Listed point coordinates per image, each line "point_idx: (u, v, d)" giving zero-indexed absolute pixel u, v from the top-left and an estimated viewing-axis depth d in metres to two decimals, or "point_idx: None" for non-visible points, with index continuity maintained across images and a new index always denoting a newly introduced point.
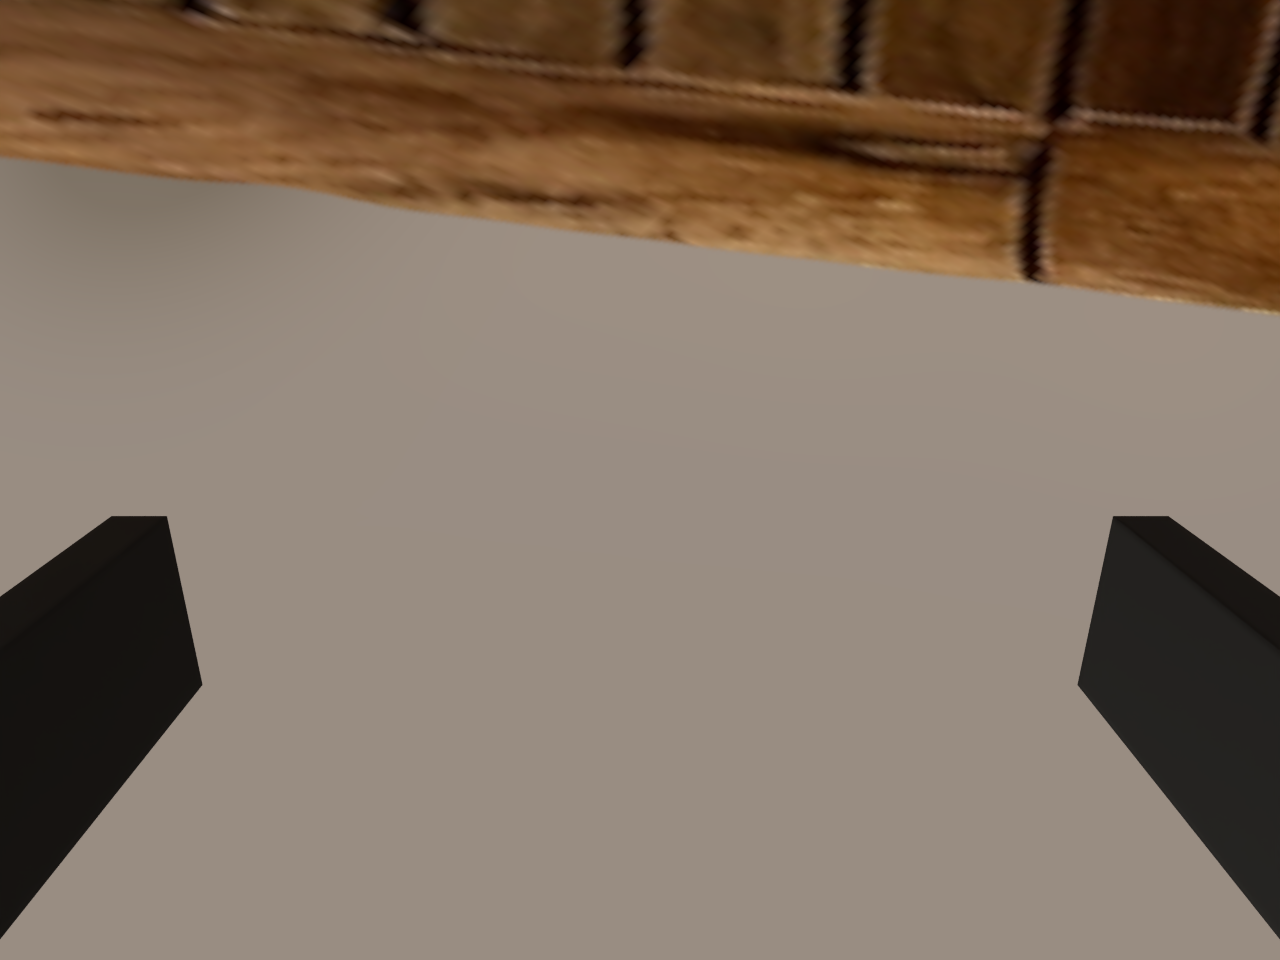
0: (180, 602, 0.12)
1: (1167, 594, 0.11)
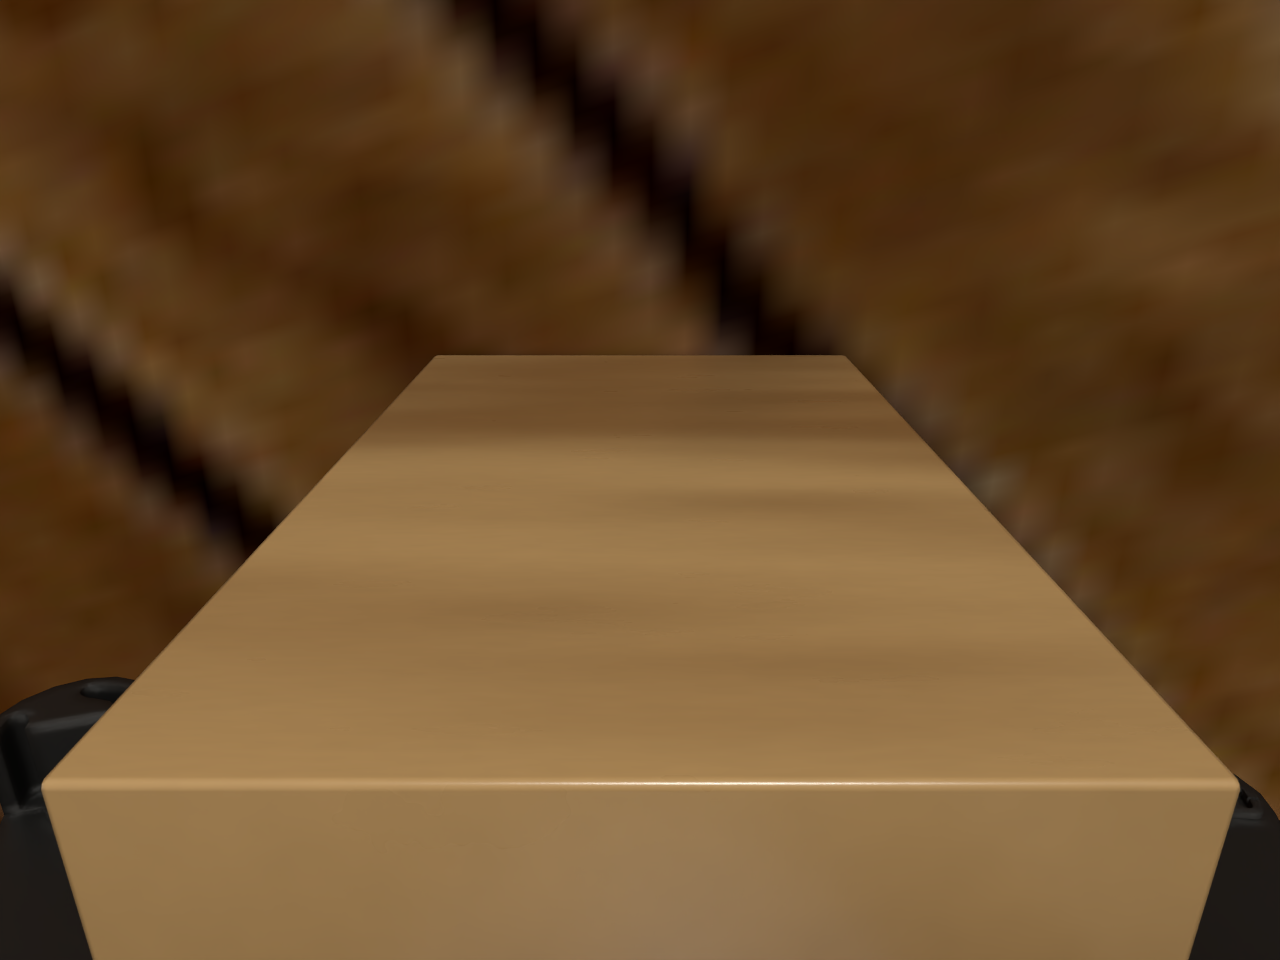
0: None
1: None
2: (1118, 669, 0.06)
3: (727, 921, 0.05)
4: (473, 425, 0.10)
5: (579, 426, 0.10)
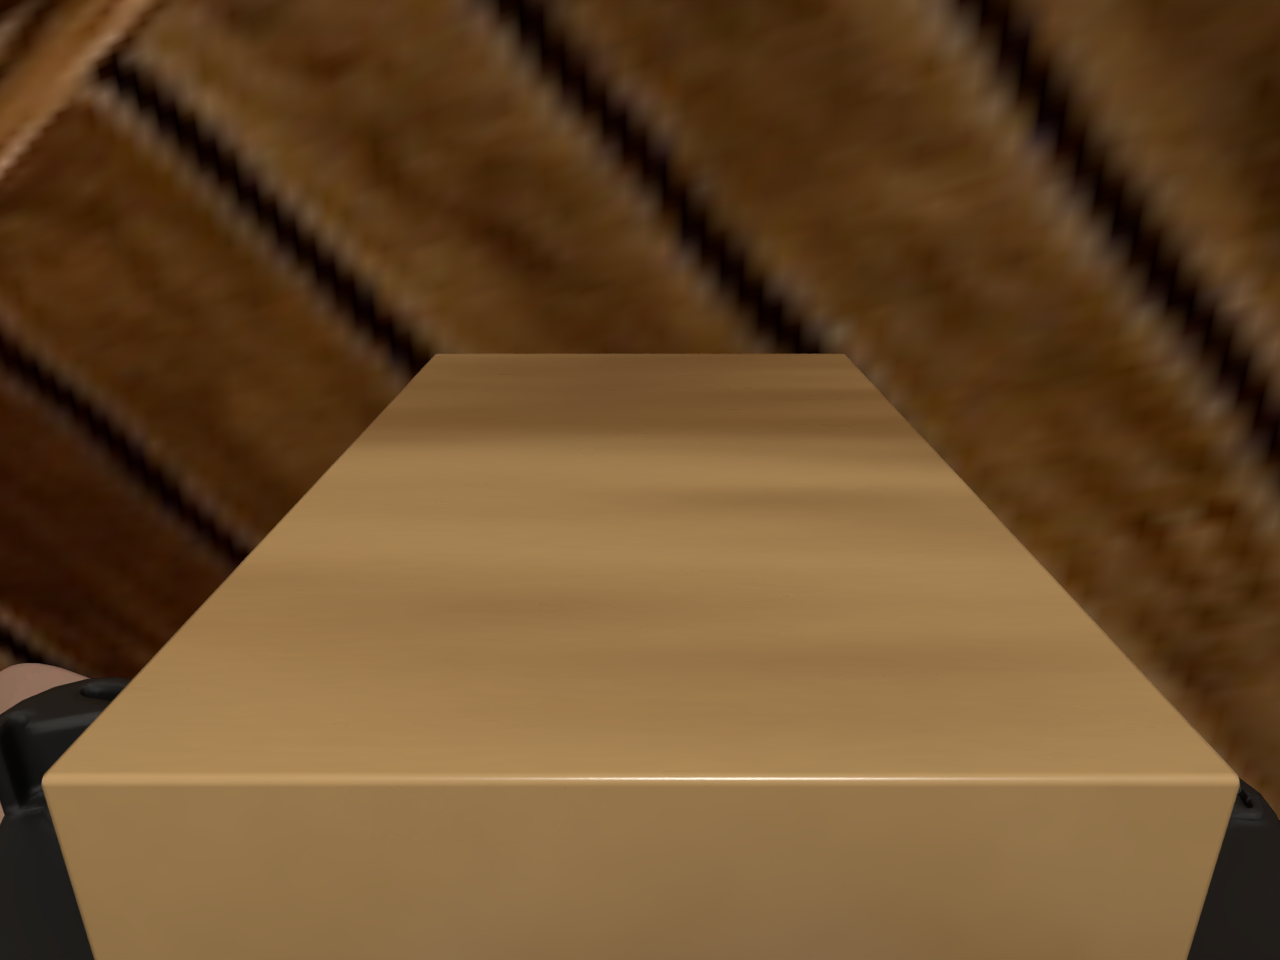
0: None
1: None
2: (1116, 665, 0.06)
3: (726, 918, 0.05)
4: (472, 423, 0.10)
5: (579, 424, 0.10)
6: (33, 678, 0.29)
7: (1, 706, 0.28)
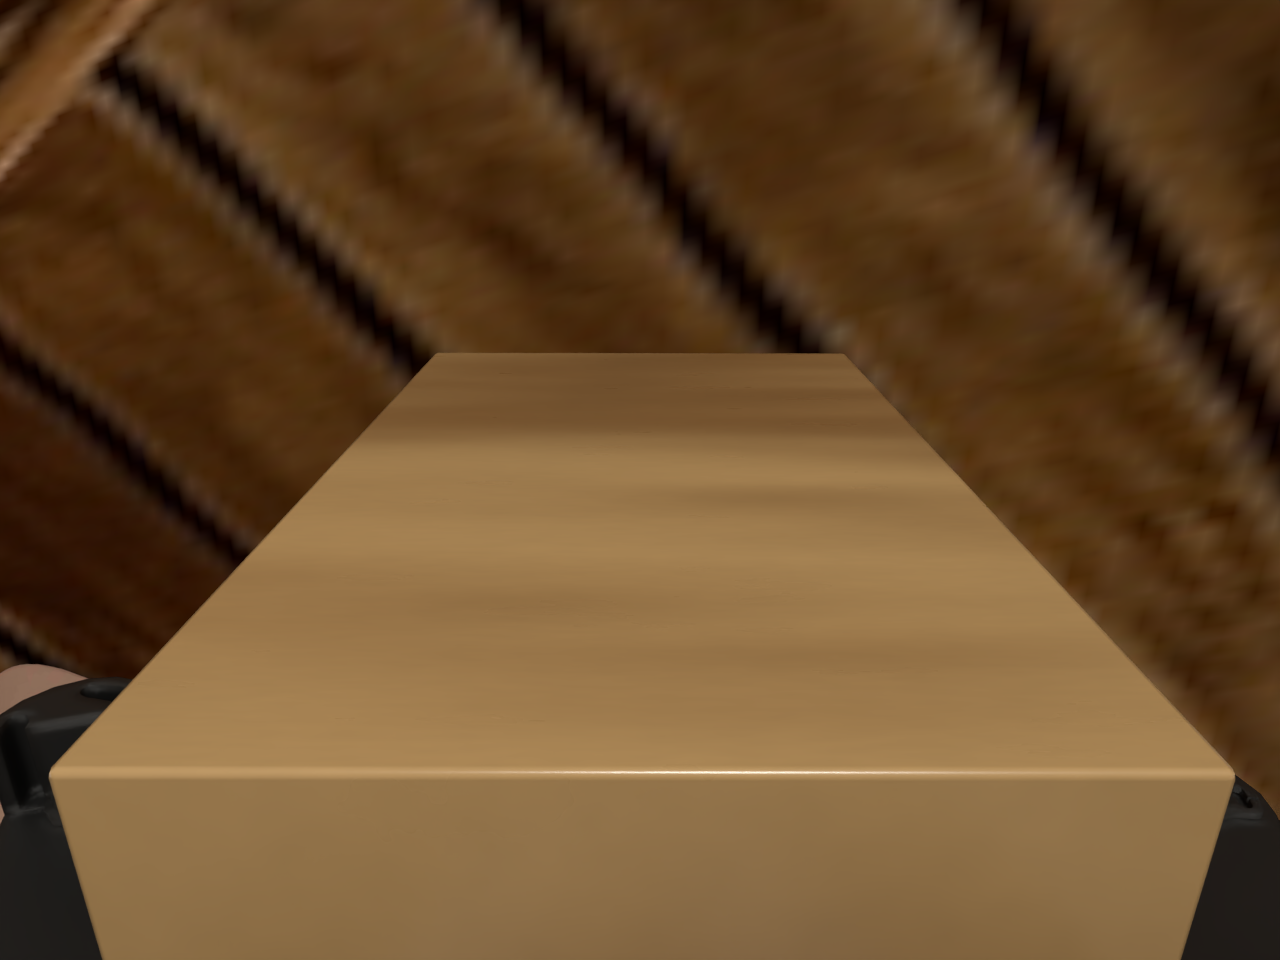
0: None
1: None
2: (1115, 663, 0.06)
3: (727, 910, 0.05)
4: (474, 422, 0.10)
5: (579, 422, 0.10)
6: (34, 679, 0.29)
7: (2, 707, 0.29)
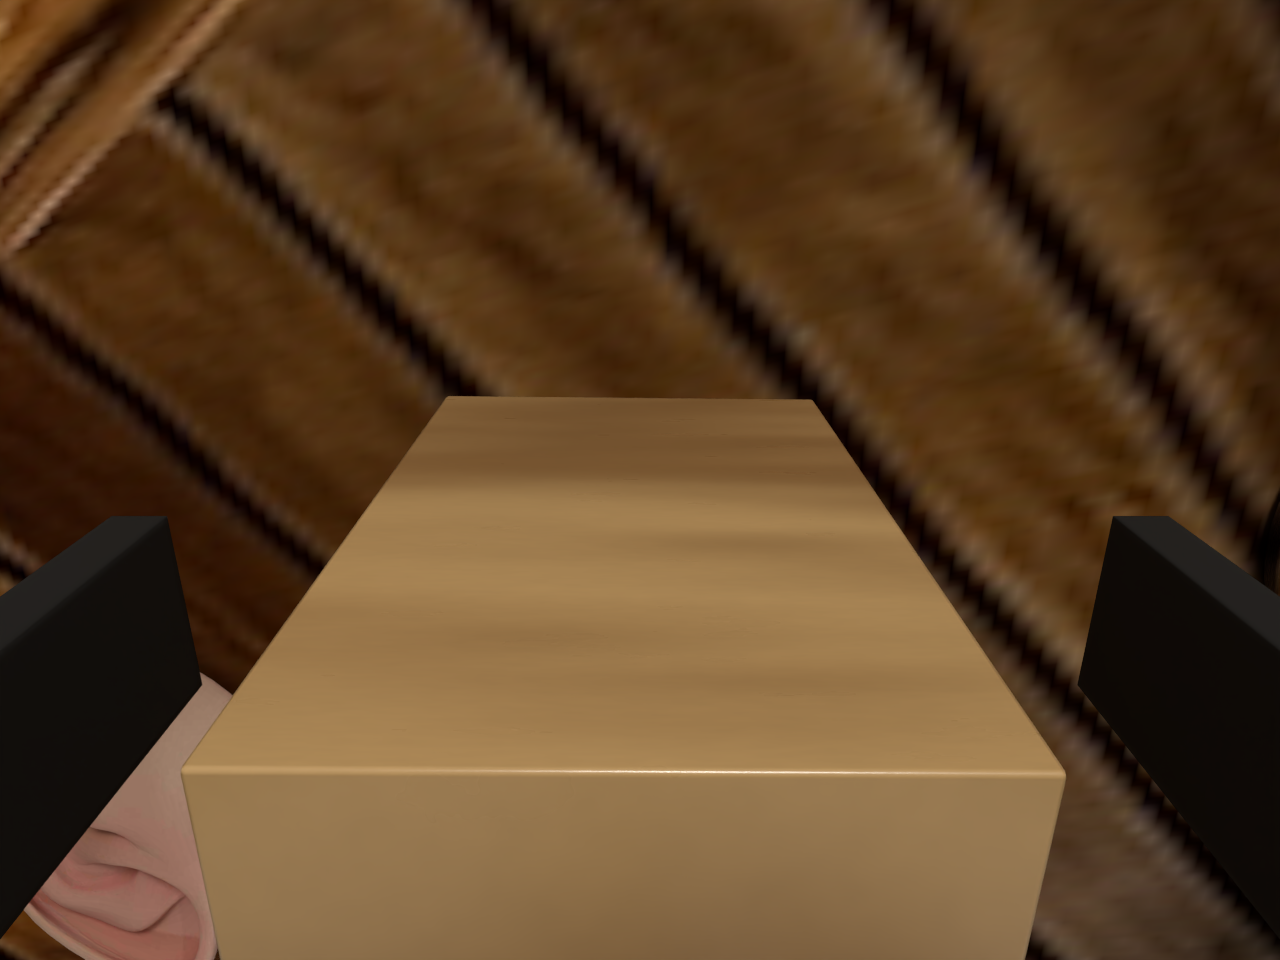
0: (180, 602, 0.12)
1: (1168, 593, 0.11)
2: (994, 687, 0.07)
3: (689, 878, 0.07)
4: (485, 468, 0.12)
5: (576, 470, 0.12)
6: None
7: None
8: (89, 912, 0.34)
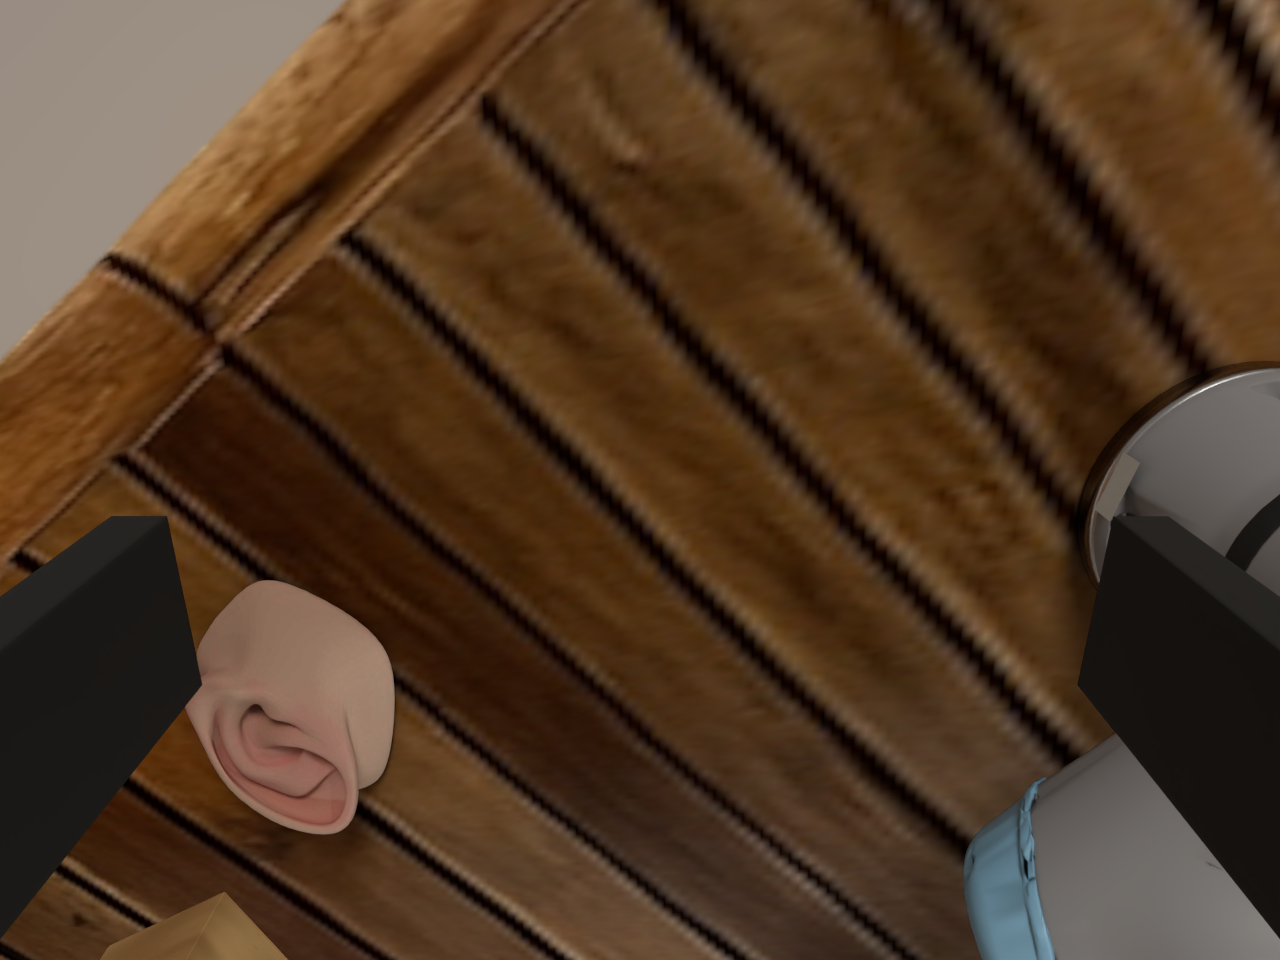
0: (180, 602, 0.12)
1: (1168, 594, 0.11)
2: None
3: None
4: None
5: None
6: (271, 589, 0.47)
7: (252, 606, 0.47)
8: (267, 782, 0.49)
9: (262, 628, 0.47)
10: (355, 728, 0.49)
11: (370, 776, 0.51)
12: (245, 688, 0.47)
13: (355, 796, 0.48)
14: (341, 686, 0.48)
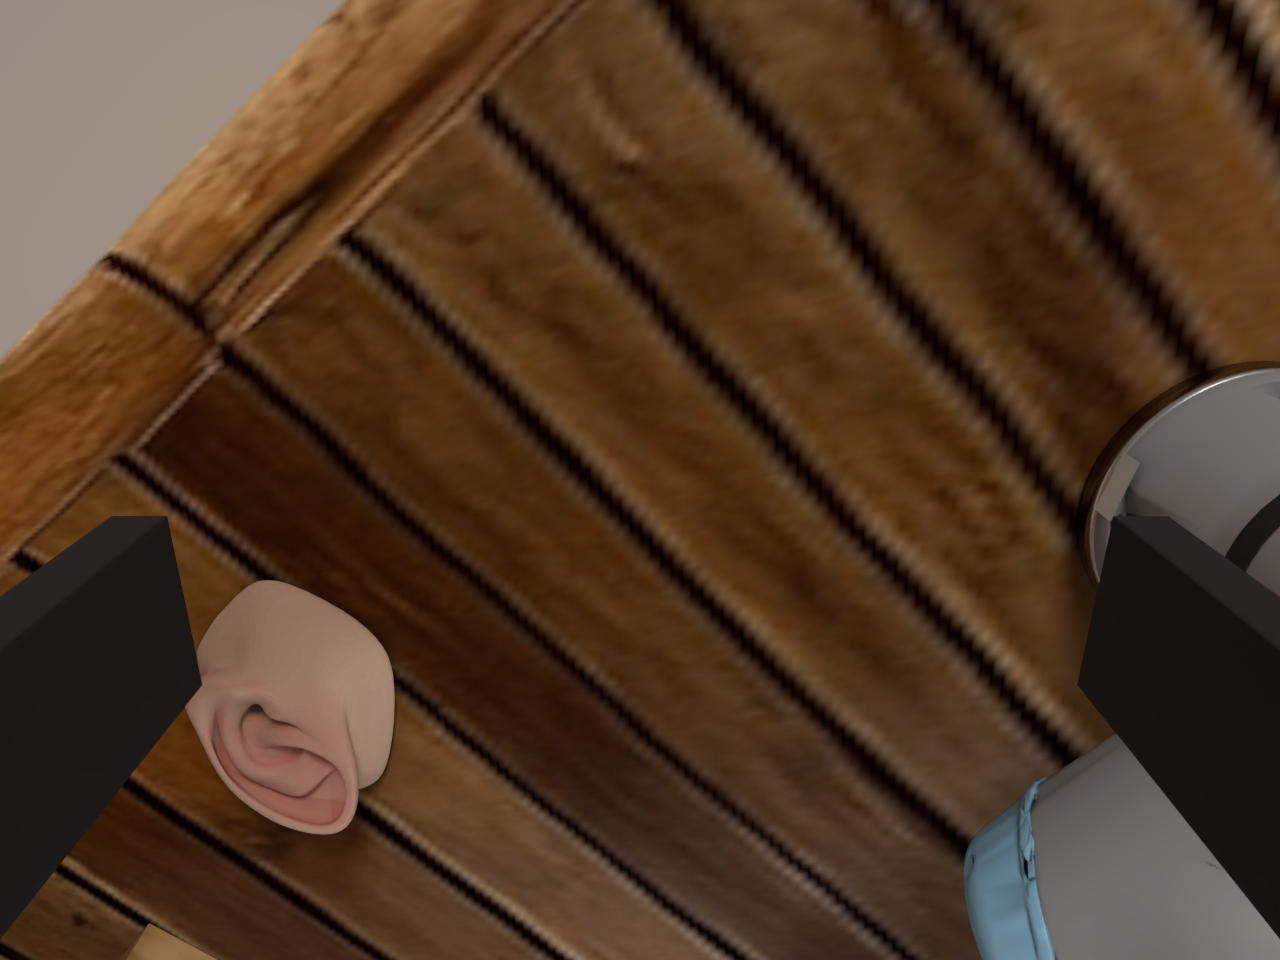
0: (180, 602, 0.12)
1: (1168, 594, 0.11)
2: None
3: None
4: None
5: None
6: (271, 589, 0.47)
7: (252, 606, 0.47)
8: (267, 782, 0.49)
9: (262, 628, 0.47)
10: (355, 728, 0.49)
11: (370, 776, 0.51)
12: (245, 688, 0.47)
13: (355, 796, 0.48)
14: (341, 686, 0.48)
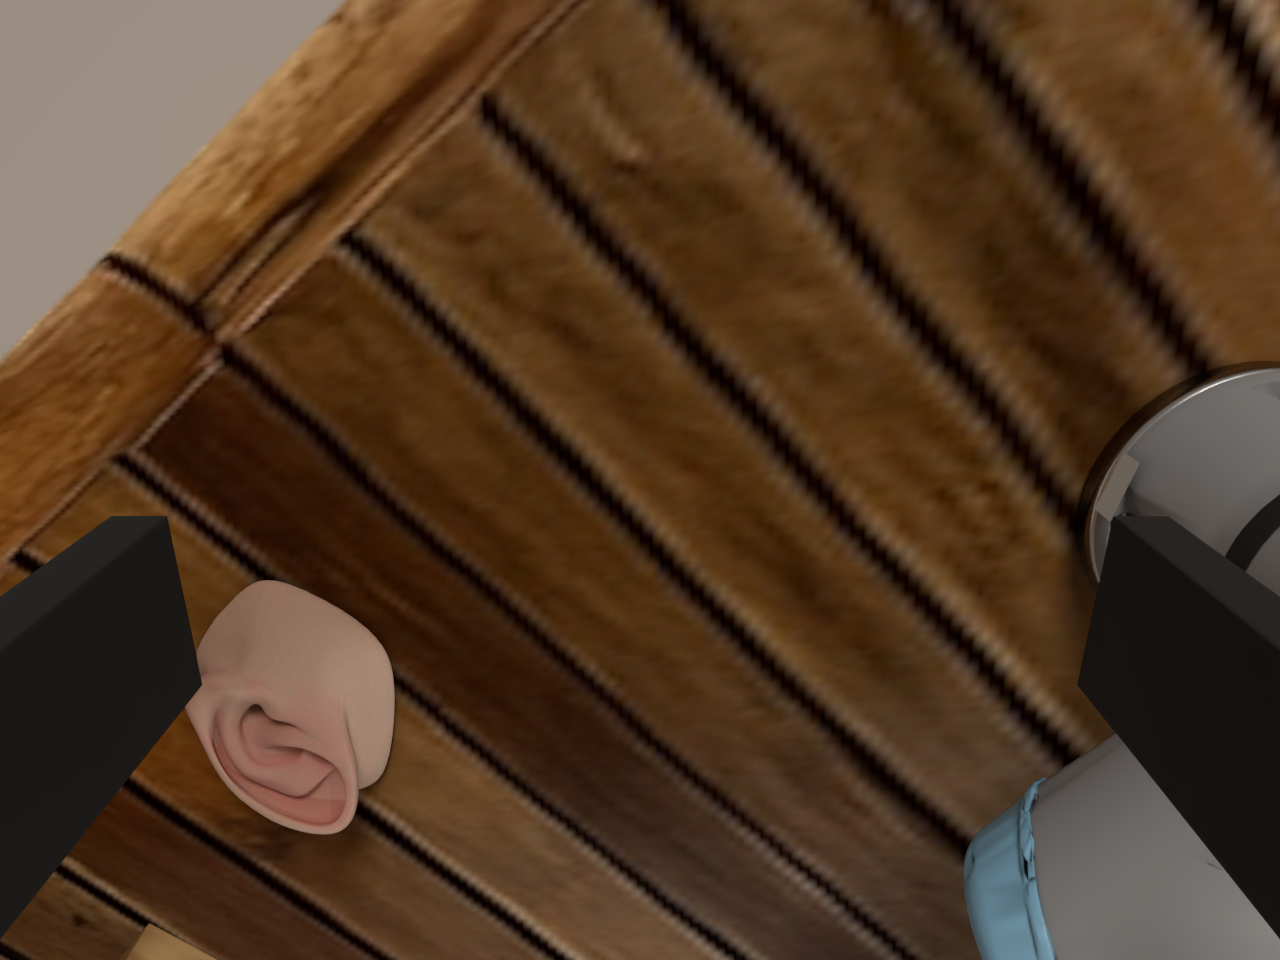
0: (180, 602, 0.12)
1: (1168, 594, 0.11)
2: None
3: None
4: None
5: None
6: (271, 589, 0.47)
7: (252, 606, 0.47)
8: (267, 782, 0.49)
9: (262, 628, 0.47)
10: (355, 728, 0.49)
11: (370, 776, 0.51)
12: (245, 688, 0.47)
13: (355, 796, 0.48)
14: (341, 686, 0.48)
